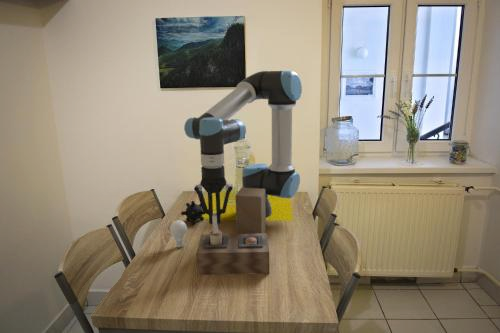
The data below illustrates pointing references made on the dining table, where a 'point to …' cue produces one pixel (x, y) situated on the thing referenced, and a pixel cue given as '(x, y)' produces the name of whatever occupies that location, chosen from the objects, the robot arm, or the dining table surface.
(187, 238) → the dining table surface
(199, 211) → the toy ball
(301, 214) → the dining table surface
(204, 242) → the socket block
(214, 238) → the peg
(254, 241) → the peg
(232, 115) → the robot arm
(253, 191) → the wooden block
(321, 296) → the dining table surface
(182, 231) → the lightbulb
